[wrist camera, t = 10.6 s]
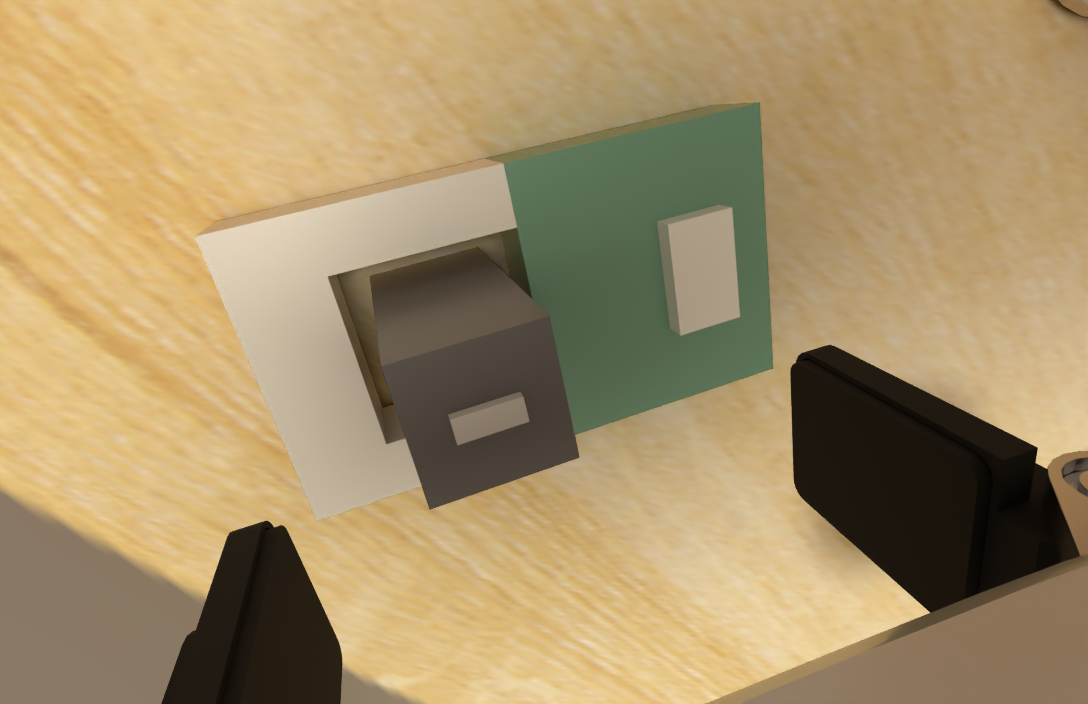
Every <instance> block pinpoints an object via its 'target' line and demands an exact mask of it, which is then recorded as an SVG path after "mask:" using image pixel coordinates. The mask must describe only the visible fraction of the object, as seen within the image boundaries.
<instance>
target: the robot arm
mask: <svg viewBox="0 0 1088 704" xmlns="http://www.w3.org/2000/svg"><path fill="white" fill-rule="evenodd" d="M1059 2H1060V3H1061V4H1062V5H1063V6H1065V7H1067V8H1068V9H1070V10H1072V11H1074V12H1075V13H1077V14H1079V15H1081V16H1085V17H1088V0H1059ZM791 406H792V438H793V471H794V484H795V487H796V489H797V491H798V493H799V495H800V496H801V497H802V499H803V500H804V501H806V502H807V503H808V504H809V505H810V506H811V507H812V508H813V509H815V510H816V511H817V512H818V513H819V514H820V515H821V516H822V517H824V518H825V519H826V520H827V521H828V522H829V523H830V524H831V525H833V526H834V527H835V528H836V529H837V530H838V531H839V532H840V533H842V534H843V535H844V536H845V537H846V538H847V539H848V540H849V541H851V542H852V543H853V544H854V545H855V546H856V547H857V548H858V549H859V550H861V551H862V552H863V553H864V554H865V555H866V556H867V557H868V558H870V559H871V560H872V561H873V562H874V563H875V564H876V565H877V566H879V567H880V568H881V569H882V570H883V571H884V572H885V573H886V574H888V575H889V576H890V577H891V578H892V579H893V580H894V581H895V582H897V583H898V584H899V585H900V586H901V587H902V588H903V589H904V590H906V591H907V592H908V593H909V594H910V595H911V596H912V597H913V598H915V599H916V600H917V601H918V602H919V603H920V604H921V605H922V606H924V607H925V608H926V609H927V610H928V611H929V612H930V613H929V614H927V615H924V616H922V617H919V618H917V619H914V620H912V621H909V622H907V623H904V624H902V625H899V626H897V627H894V628H892V629H889V630H887V631H884V632H882V633H879V634H877V635H874V636H872V637H869V638H867V639H864V640H862V641H859V642H857V643H854V644H852V645H849V646H847V647H844V648H842V649H839V650H837V651H834V652H832V653H829V654H827V655H824V656H822V657H819V658H817V659H814V660H812V661H809V662H807V663H805V664H802V665H800V666H797V667H795V668H792V669H790V670H787V671H785V672H782V673H780V674H777V675H775V676H773V677H770V678H768V679H765V680H763V681H760V682H758V683H755V684H753V685H750V686H748V687H745V688H743V689H741V690H738V691H736V692H733V693H731V694H728V695H726V696H723V697H721V698H719V699H716V700H714V701H711V702H709V703H706V704H1088V451H1078V452H1072V453H1067V454H1063V455H1061V456H1059V457H1057V458H1055V459H1053V460H1052V462H1051V463H1050V464H1049V466H1048V469H1046V468H1044V467H1042V466H1040V465H1038V464H1036V463H1035V462H1036V456H1037V449H1038V448H1037V447H1035V446H1033V445H1031V444H1029V443H1027V442H1025V441H1023V440H1021V439H1019V438H1017V437H1015V436H1013V435H1011V434H1009V433H1007V432H1005V431H1003V430H1001V429H999V428H997V427H995V426H993V425H991V424H989V423H987V422H985V421H983V420H981V419H979V418H977V417H975V416H973V415H971V414H969V413H967V412H965V411H963V410H961V409H959V408H957V407H955V406H953V405H951V404H949V403H947V402H945V401H943V400H941V399H939V398H937V397H935V396H933V395H931V394H929V393H927V392H925V391H923V390H921V389H919V388H917V387H915V386H913V385H911V384H909V383H907V382H905V381H903V380H901V379H899V378H897V377H895V376H893V375H891V374H889V373H887V372H885V371H883V370H881V369H879V368H877V367H875V366H873V365H871V364H869V363H867V362H865V361H863V360H861V359H859V358H857V357H855V356H853V355H851V354H849V353H847V352H845V351H843V350H841V349H839V348H837V347H835V346H832V345H827V346H823V347H820V348H817V349H814V350H811V351H807V352H804V353H801V354H800V355H799V356H798V358H797V360H796V363H795V364H793V365H792V367H791ZM341 679H342V653H341V648H340V645H339V642H338V639H337V637H336V635H335V633H334V630H333V628H332V626H331V624H330V622H329V620H328V617H327V615H326V613H325V611H324V609H323V607H322V604H321V602H320V600H319V598H318V596H317V594H316V591H315V589H314V587H313V585H312V583H311V581H310V579H309V576H308V574H307V572H306V570H305V568H304V566H303V563H302V561H301V559H300V557H299V555H298V553H297V550H296V548H295V546H294V544H293V542H292V540H291V537H290V535H289V533H288V531H287V529H286V528H285V527H284V526H282V525H281V526H278V527H273V525H272V524H271V523H270V522H269V521H264V522H261V523H257V524H254V525H251V526H248V527H245V528H241V529H238V530H235V531H232V532H230V533H229V535H228V537H227V540H226V543H225V546H224V549H223V551H222V554H221V557H220V560H219V563H218V566H217V569H216V572H215V575H214V578H213V581H212V584H211V587H210V590H209V593H208V596H207V599H206V602H205V605H204V608H203V611H202V614H201V617H200V620H199V623H198V625H197V628H196V630H195V631H192V632H191V633H190V634H189V635H188V636H187V637H186V639H185V641H184V643H183V645H182V647H181V650H180V653H179V656H178V659H177V661H176V664H175V667H174V670H173V673H172V676H171V678H170V681H169V684H168V687H167V690H166V692H165V695H164V698H163V701H162V704H340V700H341V681H342V680H341Z"/></svg>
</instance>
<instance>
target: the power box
mask: <svg viewBox="0 0 1088 704" xmlns="http://www.w3.org/2000/svg"><path fill="white" fill-rule="evenodd" d="M497 232H501V236H502V240H503V245H504V249H505V253H506V258H507V262H508V267H509V271H510V275H511V279H512V280H513V281H514V282H515V283H516V284H517V285H518V286H519V287H520V288H521V289H522V290H523V291H524V292H525V293H526V294H527V295H528V296H529V297H530V298H532V299H533V300H534V301H535V302H536V303H537V304H538V305H539V306H540V307H541V308H542V309H543V310H544V311H545V312H546V313H547V314H548V315H549V316H550V320H551V325H552V329H553V334H554V339H555V344H556V348H557V353H558V358H559V363H560V367H561V372H562V377H563V382H564V386H565V391H566V396H567V401H568V405H569V410H570V415H571V419H572V424H573V429H574V434H575V435H576V434H579V433H582V432H585V431H588V430H591V429H593V428H596V427H599V426H602V425H605V424H608V423H611V422H614V421H617V420H620V419H623V418H626V417H629V416H632V415H635V414H638V413H641V412H644V411H647V410H650V409H653V408H656V407H659V406H662V405H665V404H668V403H671V402H674V401H677V400H680V399H683V398H686V397H689V396H692V395H695V394H698V393H701V392H704V391H707V390H710V389H713V388H716V387H719V386H722V385H725V384H728V383H731V382H734V381H737V380H740V379H743V378H746V377H749V376H752V375H755V374H758V373H761V372H764V371H767V370H770V369H773V355H772V335H771V316H770V296H769V276H768V256H767V237H766V217H765V197H764V177H763V158H762V138H761V118H760V102H759V103H742V104H725V105H711V106H707V107H702V108H698V109H694V110H690V111H685V112H681V113H677V114H673V115H668V116H664V117H660V118H656V119H651V120H647V121H643V122H638V123H634V124H630V125H626V126H621V127H617V128H613V129H609V130H604V131H600V132H596V133H592V134H587V135H583V136H579V137H574V138H570V139H566V140H562V141H557V142H553V143H549V144H545V145H540V146H536V147H532V148H528V149H523V150H519V151H515V152H511V153H506V154H502V155H498V156H493V157H489V158H485V159H481V160H476V161H472V162H468V163H464V164H459V165H455V166H451V167H447V168H442V169H438V170H434V171H429V172H425V173H421V174H417V175H412V176H408V177H404V178H400V179H395V180H391V181H387V182H383V183H378V184H374V185H370V186H366V187H361V188H357V189H353V190H348V191H344V192H340V193H336V194H331V195H327V196H323V197H319V198H314V199H310V200H306V201H302V202H297V203H293V204H289V205H284V206H280V207H276V208H272V209H267V210H263V211H259V212H255V213H250V214H246V215H242V216H238V217H233V218H229V219H225V220H221V221H216V222H215V223H213V224H212V225H211V226H209V227H208V228H206V229H205V230H203V231H202V232H201V233H199V234H198V235H196V236H195V238H196V241H197V243H198V245H199V248H200V250H201V252H202V255H203V257H204V259H205V262H206V264H207V266H208V269H209V271H210V273H211V276H212V278H213V280H214V283H215V285H216V287H217V290H218V292H219V294H220V297H221V299H222V301H223V304H224V306H225V308H226V311H227V313H228V315H229V318H230V320H231V322H232V325H233V327H234V329H235V332H236V334H237V336H238V338H239V341H240V343H241V345H242V348H243V350H244V352H245V355H246V357H247V359H248V362H249V364H250V366H251V369H252V371H253V373H254V376H255V378H256V380H257V383H258V385H259V387H260V390H261V392H262V394H263V397H264V399H265V401H266V404H267V406H268V408H269V411H270V413H271V415H272V418H273V420H274V422H275V425H276V427H277V429H278V432H279V434H280V436H281V439H282V441H283V443H284V446H285V448H286V450H287V453H288V455H289V457H290V460H291V462H292V464H293V466H294V469H295V471H296V473H297V476H298V478H299V480H300V483H301V485H302V487H303V490H304V492H305V494H306V497H307V499H308V501H309V504H310V506H311V508H312V511H313V513H314V515H315V518H316V520H317V521H319V520H322V519H325V518H328V517H331V516H334V515H337V514H340V513H343V512H346V511H349V510H352V509H355V508H358V507H361V506H364V505H367V504H370V503H373V502H375V501H378V500H381V499H384V498H387V497H390V496H393V495H396V494H399V493H402V492H405V491H408V490H411V489H414V488H417V487H420V486H422V485H421V483H420V480H419V477H418V474H417V471H416V468H415V465H414V462H413V459H412V456H411V453H410V450H409V447H408V445H407V442H406V439H405V436H404V433H403V430H402V427H401V424H400V421H399V418H398V415H397V412H396V409H395V406H394V404H393V405H390V406H386V407H383V408H382V405H381V402H380V399H379V397H378V394H377V391H376V388H375V385H374V382H373V379H372V376H371V373H370V370H369V368H368V365H367V362H366V359H365V356H364V353H363V350H362V347H361V344H360V341H359V338H358V336H357V333H356V330H355V327H354V324H353V321H352V318H351V315H350V312H349V309H348V307H347V304H346V301H345V298H344V295H343V292H342V289H341V286H340V283H339V280H338V278H337V275H336V274H340V273H343V272H347V271H351V270H355V269H359V268H363V267H367V266H370V265H374V264H378V263H382V262H386V261H390V260H393V259H397V258H401V257H405V256H409V255H413V254H417V253H420V252H424V251H428V250H432V249H436V248H440V247H444V246H447V245H451V244H455V243H459V242H463V241H467V240H470V239H474V238H478V237H482V236H486V235H490V234H494V233H497Z"/></svg>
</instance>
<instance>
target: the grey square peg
mask: <svg viewBox="0 0 1088 704" xmlns="http://www.w3.org/2000/svg"><path fill="white" fill-rule="evenodd" d="M370 282H371V290H372V298H373V306H374V315H375V323H376V331H377V340H378V348H379V356H380V364H381V368H382V371H383V374H384V377H385V380H386V383H387V386H388V389H389V392H390V395H391V398H392V401H393V404H394V406H395V409H396V412H397V415H398V418H399V421H400V424H401V427H402V430H403V433H404V436H405V439H406V442H407V445H408V447H409V450H410V453H411V456H412V459H413V462H414V465H415V468H416V471H417V474H418V477H419V480H420V483H421V485H422V488H423V491H424V494H425V497H426V500H427V503H428V506H429V509H433V508H436V507H439V506H441V505H444V504H447V503H450V502H453V501H456V500H459V499H462V498H464V497H467V496H470V495H473V494H476V493H479V492H482V491H485V490H487V489H490V488H493V487H496V486H499V485H502V484H505V483H508V482H510V481H513V480H516V479H519V478H522V477H525V476H528V475H531V474H533V473H536V472H539V471H542V470H545V469H548V468H551V467H554V466H556V465H559V464H562V463H565V462H568V461H571V460H574V459H577V458H579V453H578V448H577V443H576V438H575V434H574V429H573V424H572V419H571V415H570V410H569V405H568V401H567V396H566V391H565V386H564V382H563V377H562V372H561V367H560V363H559V358H558V353H557V348H556V344H555V339H554V334H553V329H552V325H551V320H550V316H549V315H548V314H547V313H546V312H545V311H544V310H543V309H542V308H541V307H540V306H539V305H538V304H537V303H536V302H535V301H534V300H533V299H532V298H530V297H529V296H528V295H527V294H526V293H525V292H524V291H523V290H522V289H521V288H520V287H519V286H518V285H517V284H516V283H515V282H514V281H513V280H512V279H511V278H510V277H509V276H508V275H507V274H506V273H504V272H503V271H502V270H501V269H500V268H499V267H498V266H497V265H496V264H495V263H494V262H493V261H492V260H491V259H490V258H489V257H488V256H487V255H486V254H485V253H484V252H483V251H482V250H481V249H479V248H478V247H477V248H473V249H469V250H465V251H462V252H458V253H454V254H451V255H447V256H443V257H439V258H436V259H432V260H428V261H424V262H421V263H417V264H413V265H410V266H406V267H402V268H398V269H395V270H391V271H387V272H384V273H380V274H376V275H372V276H370Z"/></svg>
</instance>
